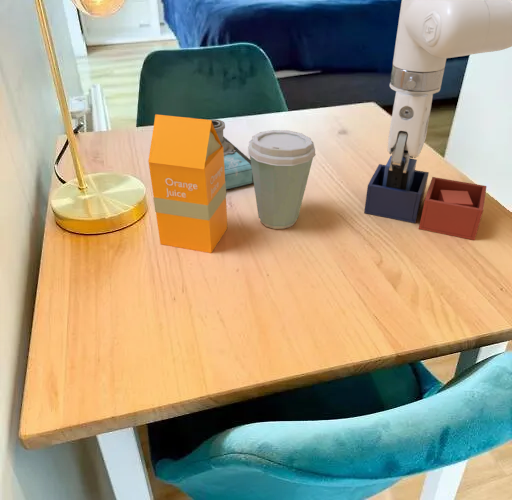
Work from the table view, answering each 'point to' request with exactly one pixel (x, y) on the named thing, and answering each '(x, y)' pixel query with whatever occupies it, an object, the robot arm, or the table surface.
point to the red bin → (452, 209)
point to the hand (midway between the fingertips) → (398, 184)
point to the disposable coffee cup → (280, 174)
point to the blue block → (410, 169)
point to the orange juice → (188, 182)
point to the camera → (233, 161)
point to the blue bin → (395, 197)
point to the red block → (455, 197)
